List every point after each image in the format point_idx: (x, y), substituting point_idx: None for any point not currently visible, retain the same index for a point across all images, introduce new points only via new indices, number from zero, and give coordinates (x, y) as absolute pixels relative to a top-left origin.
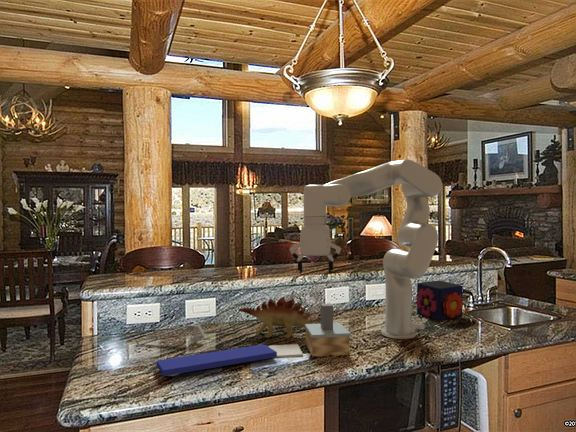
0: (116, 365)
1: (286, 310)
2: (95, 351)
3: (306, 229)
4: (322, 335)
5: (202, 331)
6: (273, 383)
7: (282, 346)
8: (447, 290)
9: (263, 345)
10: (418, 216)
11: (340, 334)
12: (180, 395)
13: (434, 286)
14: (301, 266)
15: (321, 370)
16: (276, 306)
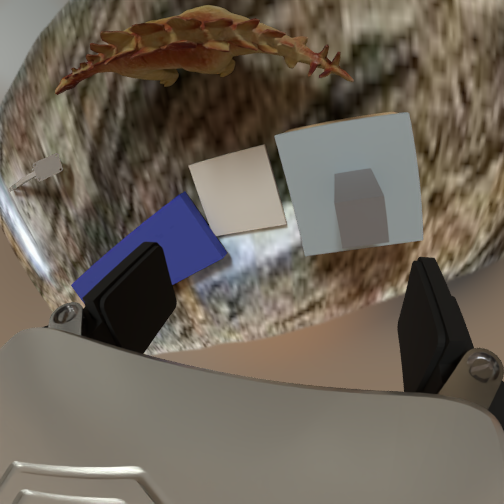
0: (42, 264)
1: (182, 58)
2: (3, 219)
3: None
4: (337, 250)
5: (49, 162)
6: (245, 339)
7: (225, 168)
8: None
9: (180, 204)
10: None
11: (393, 242)
12: (147, 350)
13: None
14: (148, 339)
15: (328, 300)
16: (138, 50)
